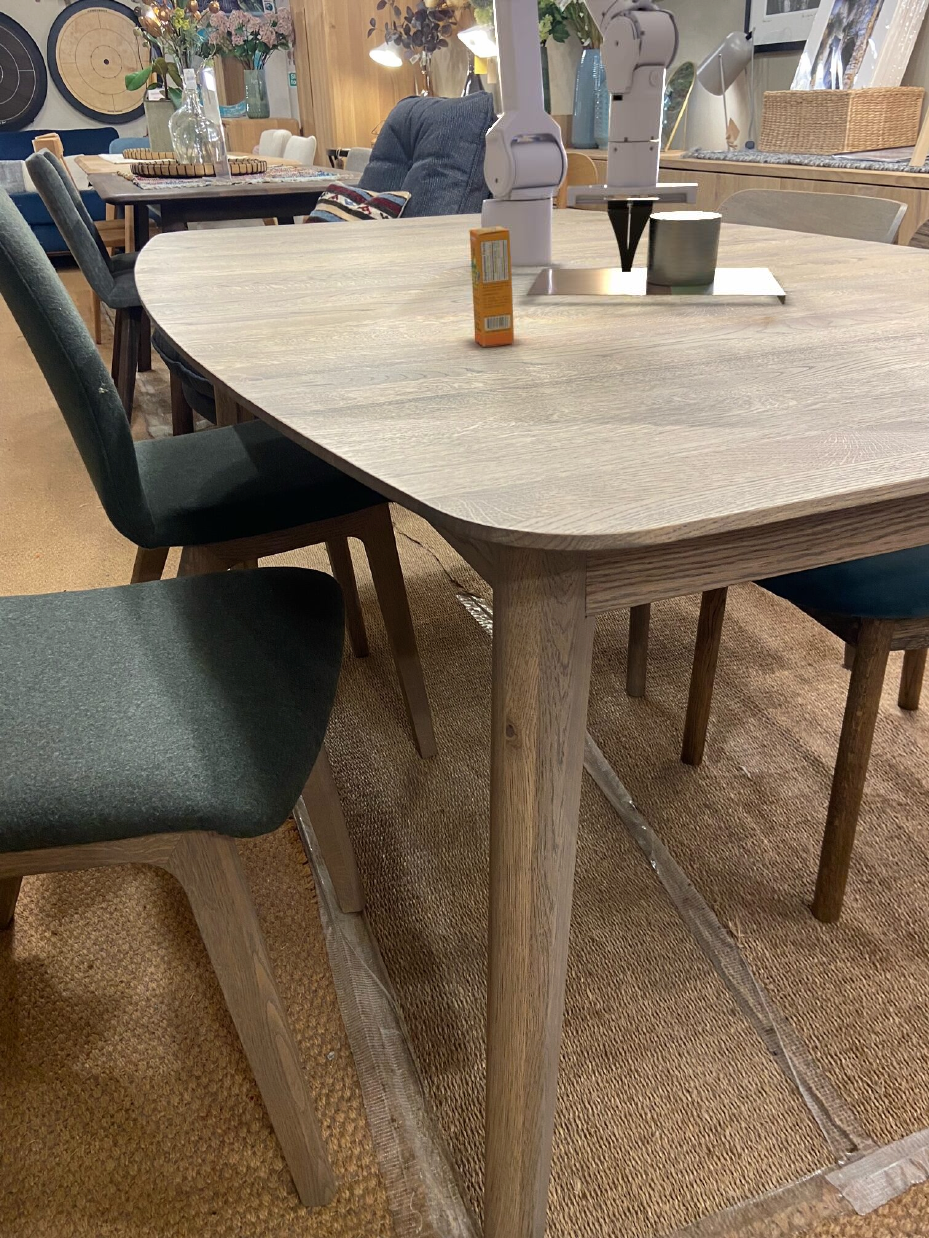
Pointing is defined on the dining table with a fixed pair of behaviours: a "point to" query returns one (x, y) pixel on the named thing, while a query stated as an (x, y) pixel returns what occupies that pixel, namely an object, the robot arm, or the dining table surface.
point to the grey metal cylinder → (682, 248)
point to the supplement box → (492, 286)
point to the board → (635, 284)
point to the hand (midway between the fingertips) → (626, 271)
